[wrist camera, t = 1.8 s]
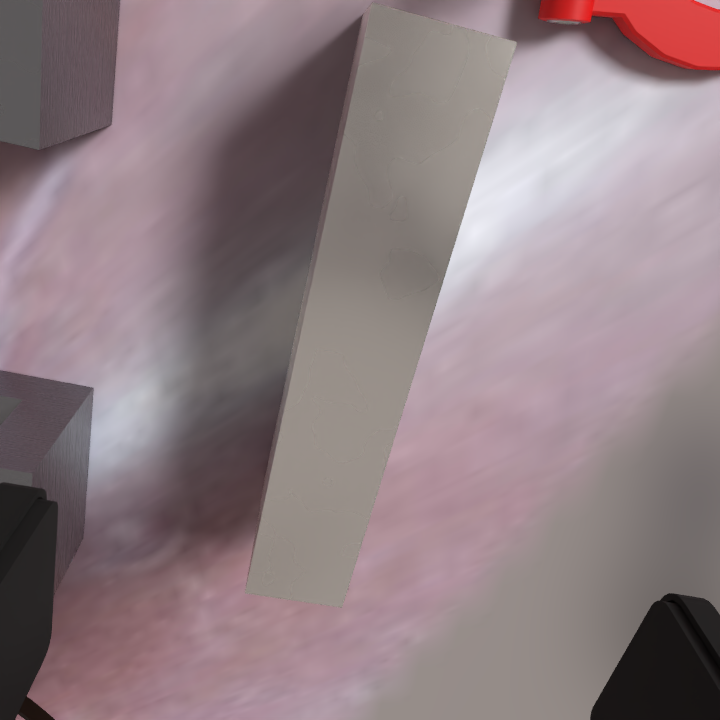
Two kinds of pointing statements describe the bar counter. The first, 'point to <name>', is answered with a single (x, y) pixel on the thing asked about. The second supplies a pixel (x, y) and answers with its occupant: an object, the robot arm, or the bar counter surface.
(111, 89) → the grey u-bracket pair
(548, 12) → the tow hook
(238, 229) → the bar counter surface
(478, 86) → the link bar
